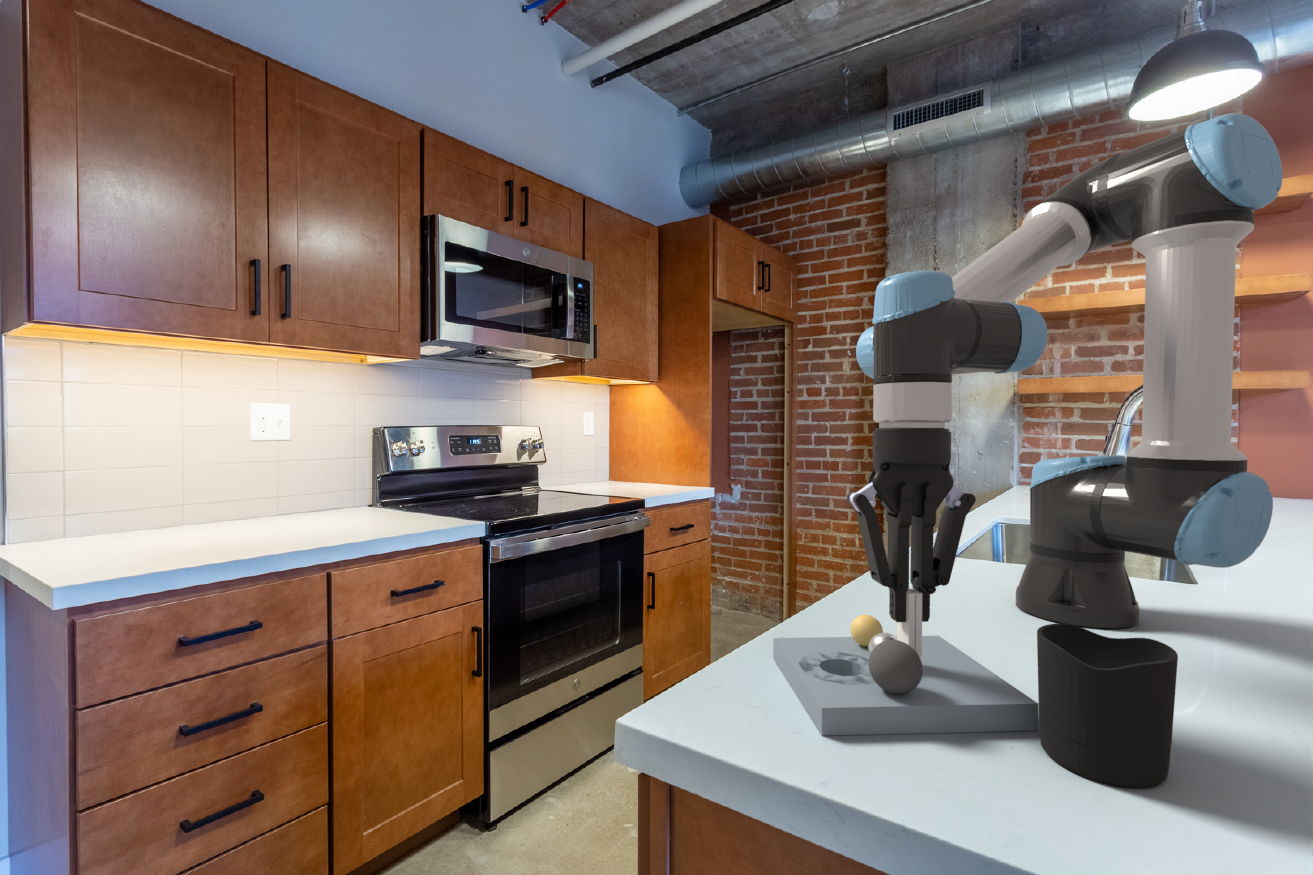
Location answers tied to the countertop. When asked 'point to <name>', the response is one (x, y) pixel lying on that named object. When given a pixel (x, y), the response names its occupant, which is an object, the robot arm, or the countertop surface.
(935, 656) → the plate
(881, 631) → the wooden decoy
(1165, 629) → the countertop surface
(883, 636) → the steel ball
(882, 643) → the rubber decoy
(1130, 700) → the pen holder
